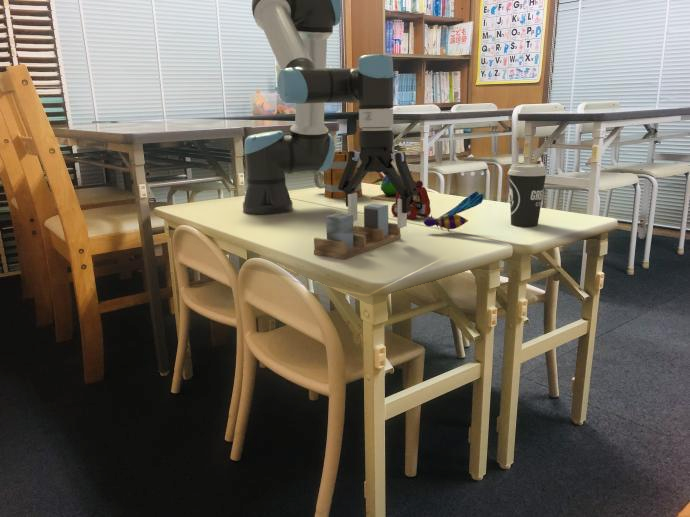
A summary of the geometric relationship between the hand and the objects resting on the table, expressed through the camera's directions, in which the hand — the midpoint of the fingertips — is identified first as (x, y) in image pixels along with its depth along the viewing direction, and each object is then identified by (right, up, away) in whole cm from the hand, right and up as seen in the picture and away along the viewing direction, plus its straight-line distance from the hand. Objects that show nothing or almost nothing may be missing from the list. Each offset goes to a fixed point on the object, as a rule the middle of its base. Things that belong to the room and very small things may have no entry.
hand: (376, 224), depth 126 cm
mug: (-10, +14, +67) cm, 69 cm away
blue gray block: (0, -3, +1) cm, 3 cm away
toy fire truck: (+11, +3, +27) cm, 29 cm away
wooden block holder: (-4, -5, -4) cm, 8 cm away
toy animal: (+8, +12, +58) cm, 59 cm away
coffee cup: (+38, 0, +13) cm, 40 cm away
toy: (+19, -2, +6) cm, 20 cm away
